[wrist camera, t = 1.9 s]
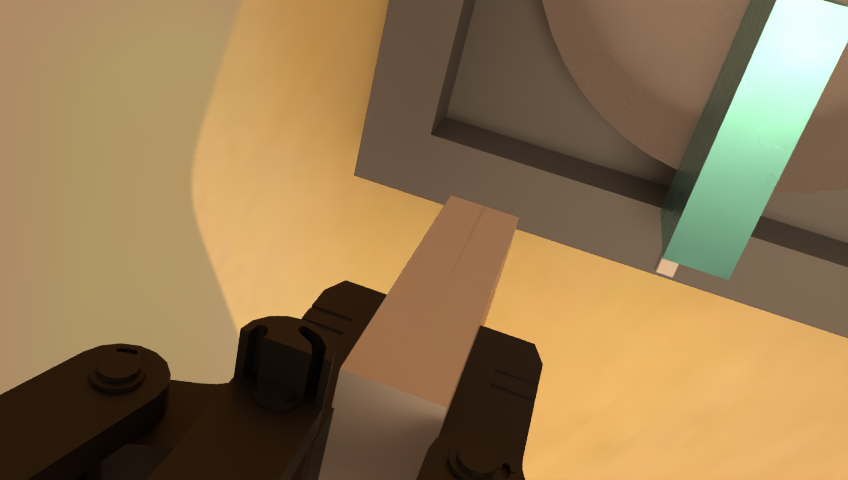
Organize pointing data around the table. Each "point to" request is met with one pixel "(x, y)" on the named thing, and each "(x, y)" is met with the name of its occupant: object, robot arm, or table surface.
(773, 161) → the dial
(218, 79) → the table surface
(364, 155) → the housing
